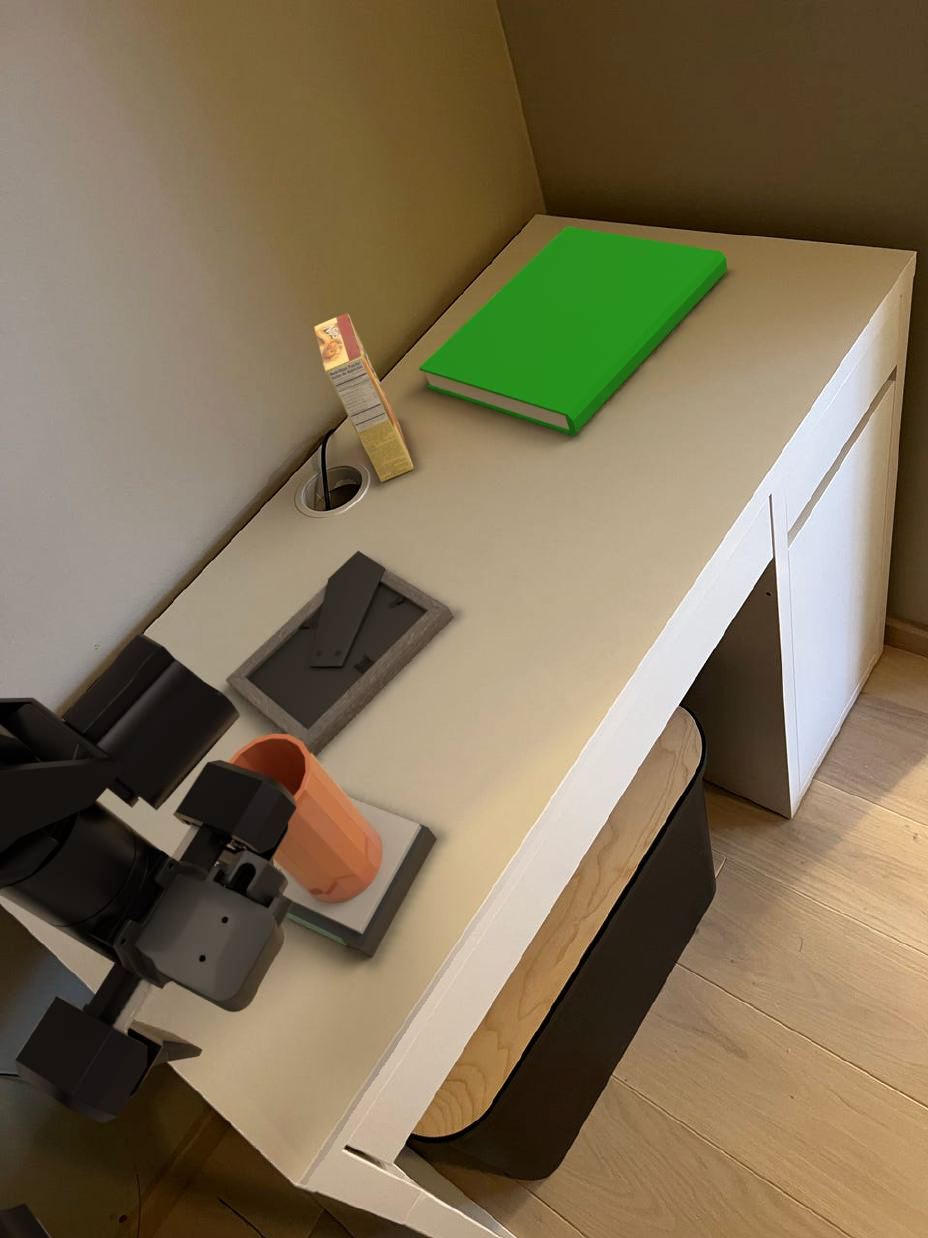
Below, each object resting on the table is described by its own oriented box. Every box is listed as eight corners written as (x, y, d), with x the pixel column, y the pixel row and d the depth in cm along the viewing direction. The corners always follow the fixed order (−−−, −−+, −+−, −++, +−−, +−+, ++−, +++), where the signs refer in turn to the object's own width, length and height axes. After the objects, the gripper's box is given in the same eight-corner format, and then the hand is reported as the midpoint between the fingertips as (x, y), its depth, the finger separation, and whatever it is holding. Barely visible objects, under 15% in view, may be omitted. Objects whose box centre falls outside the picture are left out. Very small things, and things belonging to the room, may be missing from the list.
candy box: (367, 438, 110) (310, 326, 99) (401, 423, 110) (347, 309, 99) (381, 484, 104) (322, 371, 93) (417, 468, 104) (362, 354, 93)
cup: (302, 914, 72) (216, 837, 62) (298, 834, 76) (217, 751, 67) (387, 888, 71) (312, 807, 61) (378, 809, 75) (308, 721, 66)
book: (427, 388, 112) (418, 367, 110) (572, 247, 121) (566, 226, 119) (577, 437, 99) (571, 415, 97) (728, 275, 108) (725, 251, 106)
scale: (371, 959, 71) (357, 947, 69) (271, 911, 76) (256, 898, 74) (436, 838, 75) (425, 823, 73) (338, 800, 80) (325, 785, 78)
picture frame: (365, 563, 97) (233, 689, 92) (358, 550, 96) (223, 677, 91) (453, 617, 89) (313, 758, 84) (446, 603, 88) (303, 746, 82)
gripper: (74, 1138, 39) (255, 1200, 50) (306, 748, 47) (416, 877, 59) (-83, 1031, 44) (112, 1109, 56) (150, 699, 53) (278, 826, 64)
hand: (237, 975), depth 59 cm, fingers open, 9 cm apart
